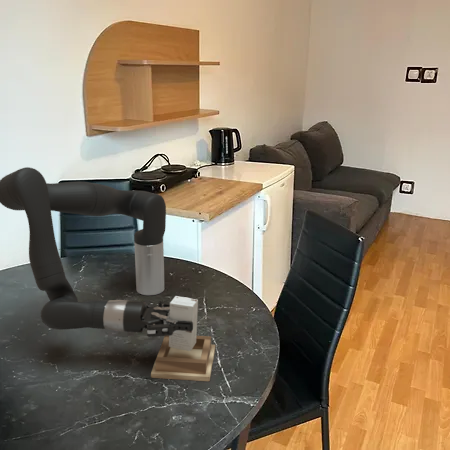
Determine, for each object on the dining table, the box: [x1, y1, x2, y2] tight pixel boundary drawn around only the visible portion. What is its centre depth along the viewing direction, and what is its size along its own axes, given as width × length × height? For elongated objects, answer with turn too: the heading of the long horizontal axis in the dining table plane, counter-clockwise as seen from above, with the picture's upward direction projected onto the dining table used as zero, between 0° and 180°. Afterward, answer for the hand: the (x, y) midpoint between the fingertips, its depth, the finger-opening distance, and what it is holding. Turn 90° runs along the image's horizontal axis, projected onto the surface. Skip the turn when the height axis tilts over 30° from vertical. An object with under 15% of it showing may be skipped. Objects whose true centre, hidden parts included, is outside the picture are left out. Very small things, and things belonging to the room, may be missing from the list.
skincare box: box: [169, 295, 199, 351], centre depth 116 cm, size 6×4×12 cm
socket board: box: [150, 335, 216, 382], centre depth 119 cm, size 14×14×4 cm
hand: (194, 320), depth 116 cm, fingers closed on skincare box, 5 cm apart
